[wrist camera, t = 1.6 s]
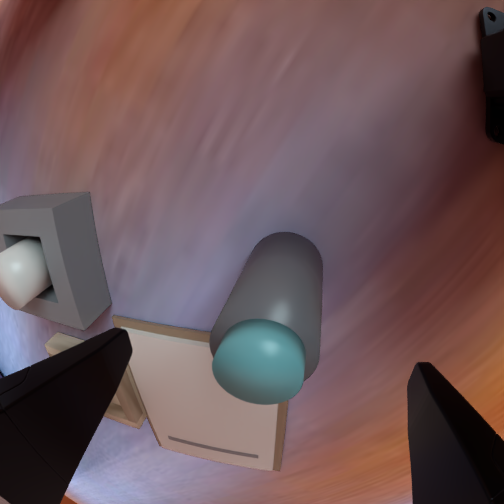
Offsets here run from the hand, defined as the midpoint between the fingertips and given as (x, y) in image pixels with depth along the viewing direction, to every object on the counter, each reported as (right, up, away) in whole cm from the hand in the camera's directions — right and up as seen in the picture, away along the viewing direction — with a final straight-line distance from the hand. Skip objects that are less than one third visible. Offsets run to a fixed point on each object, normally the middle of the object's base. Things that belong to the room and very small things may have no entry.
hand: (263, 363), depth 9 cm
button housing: (-13, +4, +9) cm, 16 cm away
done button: (-13, +3, +7) cm, 15 cm away
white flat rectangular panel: (-4, -8, +12) cm, 15 cm away
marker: (+1, +3, +6) cm, 7 cm away
